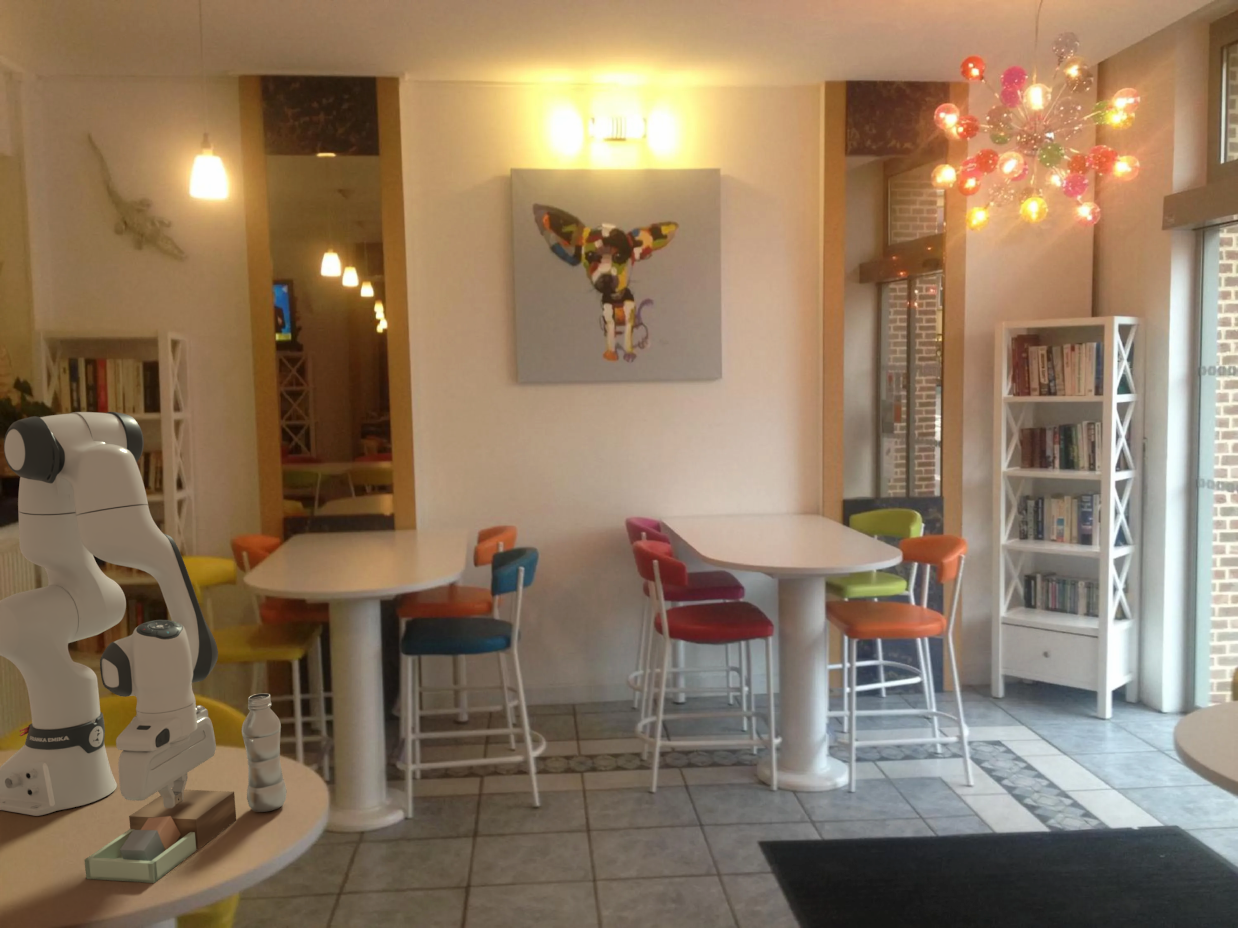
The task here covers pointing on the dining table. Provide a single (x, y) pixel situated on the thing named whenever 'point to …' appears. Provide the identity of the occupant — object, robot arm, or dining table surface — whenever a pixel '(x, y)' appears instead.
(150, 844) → the matte grey cube
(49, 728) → the robot arm
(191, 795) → the brown wooden block
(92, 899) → the dining table surface
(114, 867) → the tray
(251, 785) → the plastic bottle
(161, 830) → the peach colored cube
